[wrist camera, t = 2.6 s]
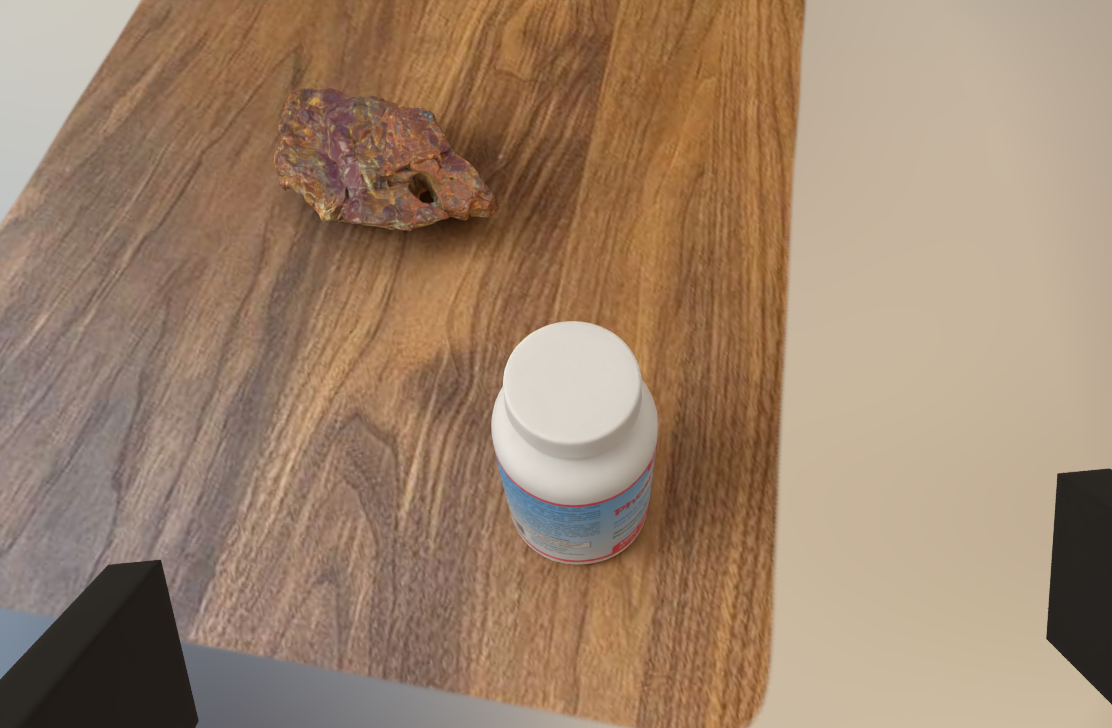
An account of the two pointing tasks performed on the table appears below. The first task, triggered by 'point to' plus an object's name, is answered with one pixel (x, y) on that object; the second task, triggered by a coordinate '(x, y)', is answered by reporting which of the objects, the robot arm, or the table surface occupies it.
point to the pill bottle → (575, 442)
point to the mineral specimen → (374, 162)
